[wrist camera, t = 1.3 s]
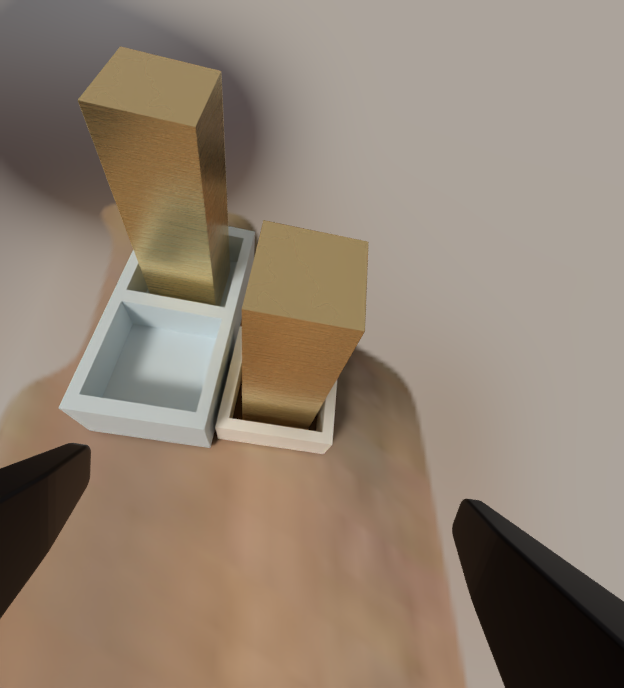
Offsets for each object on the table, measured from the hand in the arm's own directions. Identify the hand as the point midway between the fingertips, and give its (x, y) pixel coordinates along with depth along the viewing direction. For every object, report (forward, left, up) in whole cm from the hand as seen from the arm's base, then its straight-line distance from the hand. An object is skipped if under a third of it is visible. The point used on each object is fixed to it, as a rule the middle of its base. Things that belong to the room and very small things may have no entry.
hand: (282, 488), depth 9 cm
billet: (+7, 0, -13) cm, 15 cm away
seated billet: (+13, +7, -11) cm, 19 cm away
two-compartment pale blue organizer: (+10, +7, -13) cm, 18 cm away
